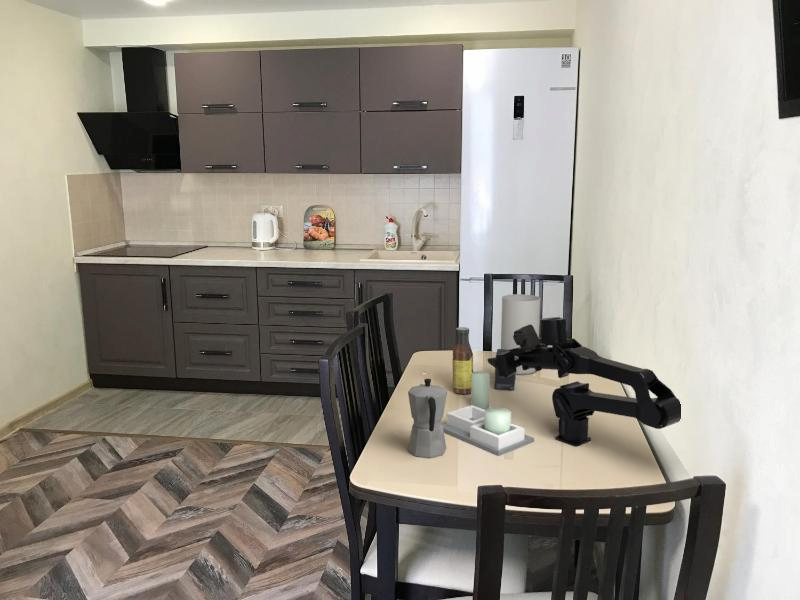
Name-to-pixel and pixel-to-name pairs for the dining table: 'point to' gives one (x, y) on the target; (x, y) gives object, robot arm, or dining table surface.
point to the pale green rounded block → (480, 389)
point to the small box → (503, 382)
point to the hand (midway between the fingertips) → (499, 356)
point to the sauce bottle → (462, 362)
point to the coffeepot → (427, 420)
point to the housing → (486, 429)
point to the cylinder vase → (518, 320)
